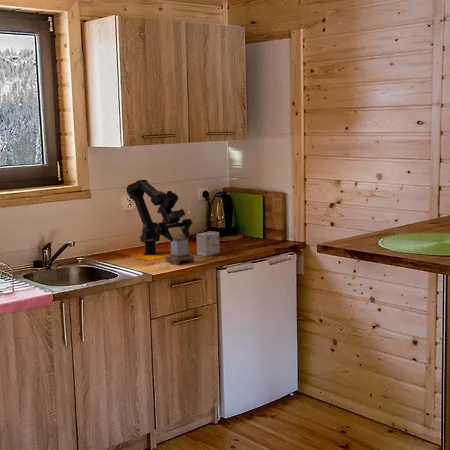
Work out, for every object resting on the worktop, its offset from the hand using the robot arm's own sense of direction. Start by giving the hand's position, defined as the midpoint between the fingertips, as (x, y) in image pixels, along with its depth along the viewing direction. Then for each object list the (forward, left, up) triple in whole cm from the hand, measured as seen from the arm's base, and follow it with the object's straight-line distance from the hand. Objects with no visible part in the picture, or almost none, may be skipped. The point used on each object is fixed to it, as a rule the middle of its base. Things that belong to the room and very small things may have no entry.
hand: (180, 239), depth 330 cm
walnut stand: (-1, -1, -11) cm, 11 cm away
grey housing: (-1, -1, -8) cm, 8 cm away
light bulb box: (-21, +11, -11) cm, 26 cm away
